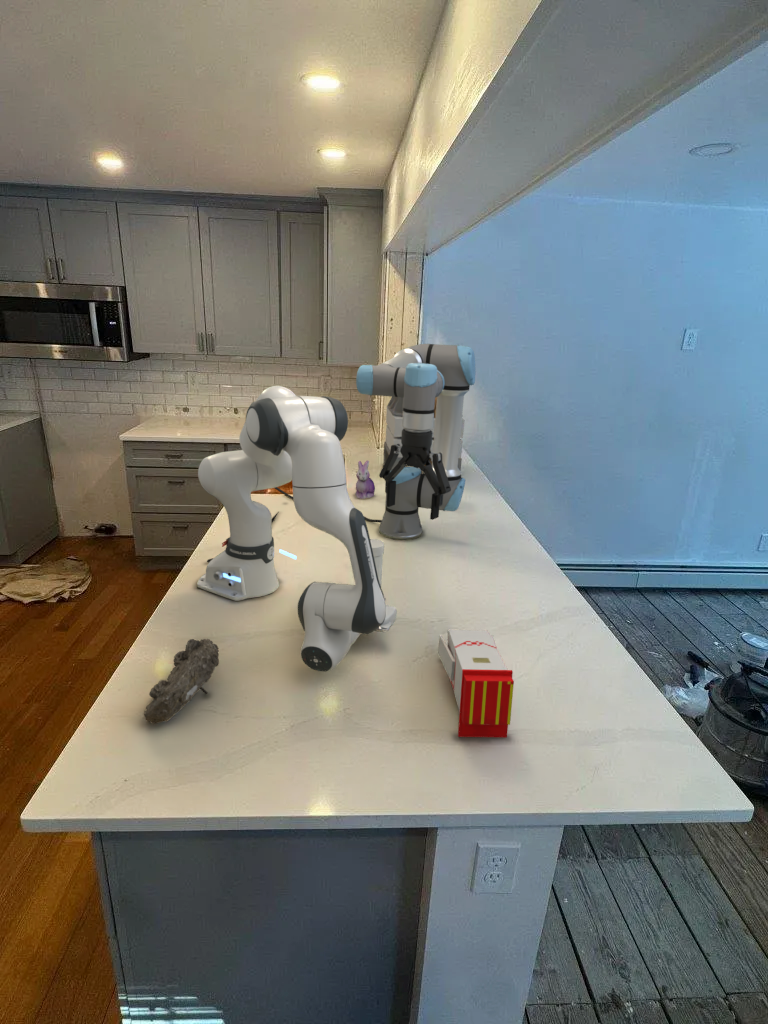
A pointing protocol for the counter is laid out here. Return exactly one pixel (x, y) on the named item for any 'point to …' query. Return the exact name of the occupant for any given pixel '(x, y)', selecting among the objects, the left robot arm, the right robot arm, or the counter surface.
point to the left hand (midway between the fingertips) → (365, 596)
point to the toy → (478, 682)
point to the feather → (274, 517)
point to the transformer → (395, 428)
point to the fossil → (183, 680)
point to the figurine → (364, 482)
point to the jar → (379, 567)
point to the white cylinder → (377, 547)
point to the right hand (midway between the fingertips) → (411, 511)
